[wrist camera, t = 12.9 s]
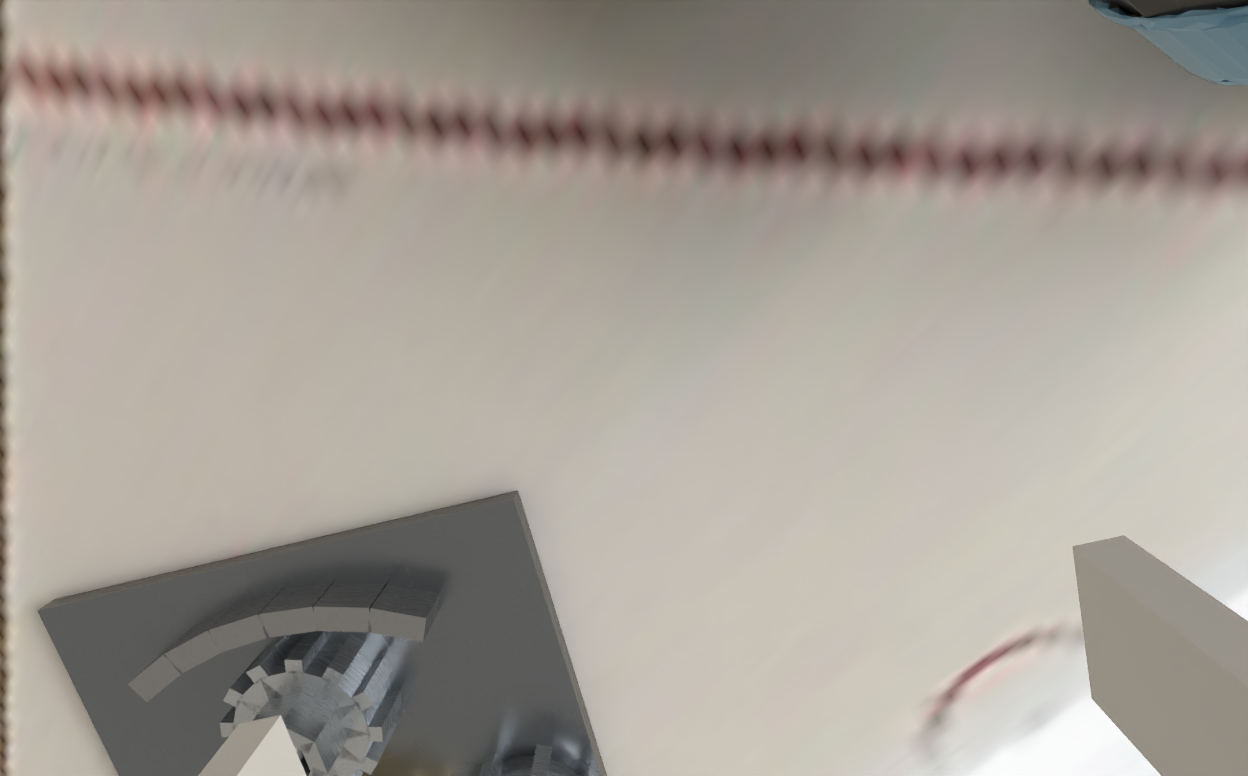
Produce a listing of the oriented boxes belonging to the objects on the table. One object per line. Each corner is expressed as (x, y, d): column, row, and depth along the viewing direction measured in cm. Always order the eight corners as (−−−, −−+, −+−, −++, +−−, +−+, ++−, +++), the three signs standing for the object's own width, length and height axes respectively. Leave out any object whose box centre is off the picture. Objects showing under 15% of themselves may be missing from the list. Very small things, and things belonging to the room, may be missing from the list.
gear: (227, 645, 41) (165, 711, 36) (371, 613, 41) (329, 675, 35) (282, 772, 43) (230, 851, 38) (420, 743, 42) (387, 821, 37)
